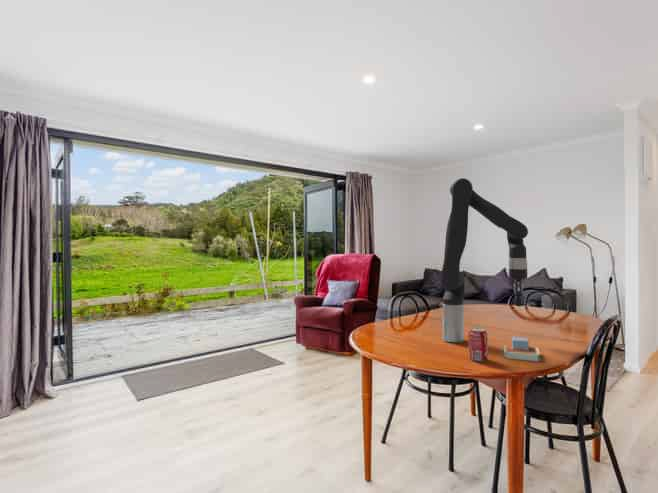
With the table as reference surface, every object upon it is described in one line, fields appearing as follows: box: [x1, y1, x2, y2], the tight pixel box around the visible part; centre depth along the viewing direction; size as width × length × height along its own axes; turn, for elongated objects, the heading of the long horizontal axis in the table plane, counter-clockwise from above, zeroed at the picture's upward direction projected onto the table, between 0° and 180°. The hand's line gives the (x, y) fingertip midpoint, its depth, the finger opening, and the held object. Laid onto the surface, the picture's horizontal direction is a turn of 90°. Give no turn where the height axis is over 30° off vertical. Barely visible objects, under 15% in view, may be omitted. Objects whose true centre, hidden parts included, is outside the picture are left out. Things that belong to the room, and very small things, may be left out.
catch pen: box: [503, 344, 541, 362], centre depth 153 cm, size 13×11×2 cm
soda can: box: [467, 327, 489, 363], centre depth 149 cm, size 7×7×12 cm
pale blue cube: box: [511, 336, 530, 351], centre depth 164 cm, size 6×6×4 cm
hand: (518, 306), depth 172 cm, fingers closed
